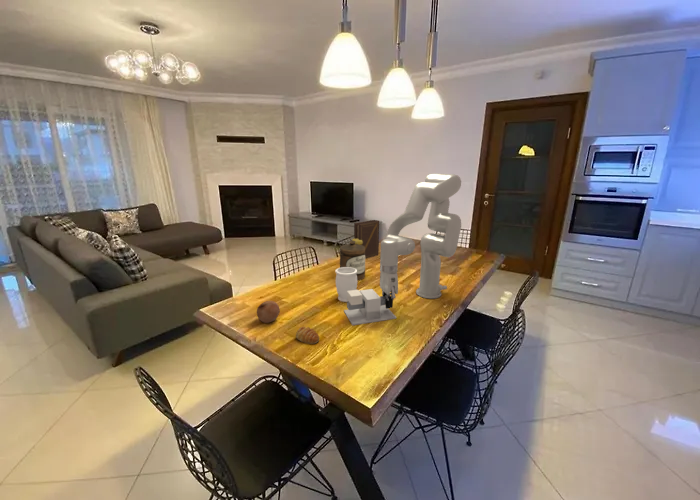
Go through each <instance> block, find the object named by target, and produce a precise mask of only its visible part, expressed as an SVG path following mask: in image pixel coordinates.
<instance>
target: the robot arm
mask: <svg viewBox="0 0 700 500" xmlns="http://www.w3.org/2000/svg"><path fill="white" fill-rule="evenodd" d="M461 186H462V178H461V177H460V176H459V175H457V174H454V173H430V174H428V175H427V176H426V177H425V179H424V181H423V182H419V183H417V184H415V186H414V188H413V190H412V193H411V195H410V197H409V200H408V203H407V205H406V208H405V210H404V212H403V213H401V214H400V215H399V216H398V217H396V218H395V219H394V220H393V221H392V222H391V224H390V225H389V226H388V228H387V231H386V234H385V235H384V236H385V237H384V239H382V240H381V242H380V258H379V259H380V261H379V262H380V263H379V271H380V275H379V287H380V289H381V296H387V300H386V309H387V308H388V309H392V308H393V306H394V299H396V295H398V293H399V278H398V266H399V262H398V261H399V256H407V255H410V254H411V253H413V252H414V251H415V248H416V243H415V240H414V239H412V238H409V237H406V236H403V235H399V234H400V233H401V231H402V230H403V229H404V228H405V227H406V226H409V225H412V224H414V223H417V222H420V221H421V220H423V218H424V216H425V213H426V211H427V209H428V206H429V203H430V209H429V212H428V213H429V214H428V218H427V228H428V229H429V230H430V231H434V232H437V233H444V234H445V235H442V234H436V233H433V232H432V233H430V232H428V233H425V234H424V235H422V236H421V238H420V243H419V245H420V252H421V254H420V255H421V261H420V272H419V273H420V275H419V276H420V277H419V287H418V288H417V289H416V290H415V293H416V294H417V295H418V296H419V297H421V298H424V299H431V300H432V299H437V298H438V299H439V298H440V297H441V296H442V290H443V291H444V290H448V286H447V285H442V284H440V278H441V277H440V276H441V274H440V273H441V264H442V262H441V261H442V260H441V257H445V258H451V257H453V256H454V255H455V253H456V251H457V248H458V243H459V239H460V234H461V229H462V219H461V217H460V216H459V215H458V214H455V213H450V212H449V208H450V198H451V197H452V196H454V195H456V194H457V193H458V192H459V190H460V189H461V188H462V187H461ZM389 295H390V296H389Z"/></svg>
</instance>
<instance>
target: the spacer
mask: <svg viewBox="0 0 700 500" xmlns="http://www.w3.org/2000/svg"><path fill="white" fill-rule="evenodd" d="M362 298H363V295H362V294H361V293H360V290H359V289H356V290H351V291H347V300H348V301H349V303H350V304H351V305H357V304H362Z"/></svg>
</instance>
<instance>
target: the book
mask: <svg viewBox="0 0 700 500" xmlns="http://www.w3.org/2000/svg"><path fill="white" fill-rule="evenodd" d="M353 226H354V227H353V234H354V235H353V238H352V239H351V241H352V240H353V241H355V244H359V245H363V246H365V260H366V259H370V258H373V257H377V256H379V251H380V250H379V248H380V247H379V246H380V220H376V219H373V220H372V219H371V220H366V221H365V220H364V221H359V222H355V223H354V224H353Z"/></svg>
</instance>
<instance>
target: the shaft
mask: <svg viewBox="0 0 700 500" xmlns="http://www.w3.org/2000/svg"><path fill="white" fill-rule="evenodd" d="M389 296H391V295H389ZM379 297H380V298H381V306H382V305H386V300H387V296H382V295H381V296H379ZM346 307H347V310H348V309H349V310H355V309H361V308H365V301H364V299H362V304H357V305H351V304H350V303H349V301H347V302H346Z"/></svg>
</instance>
